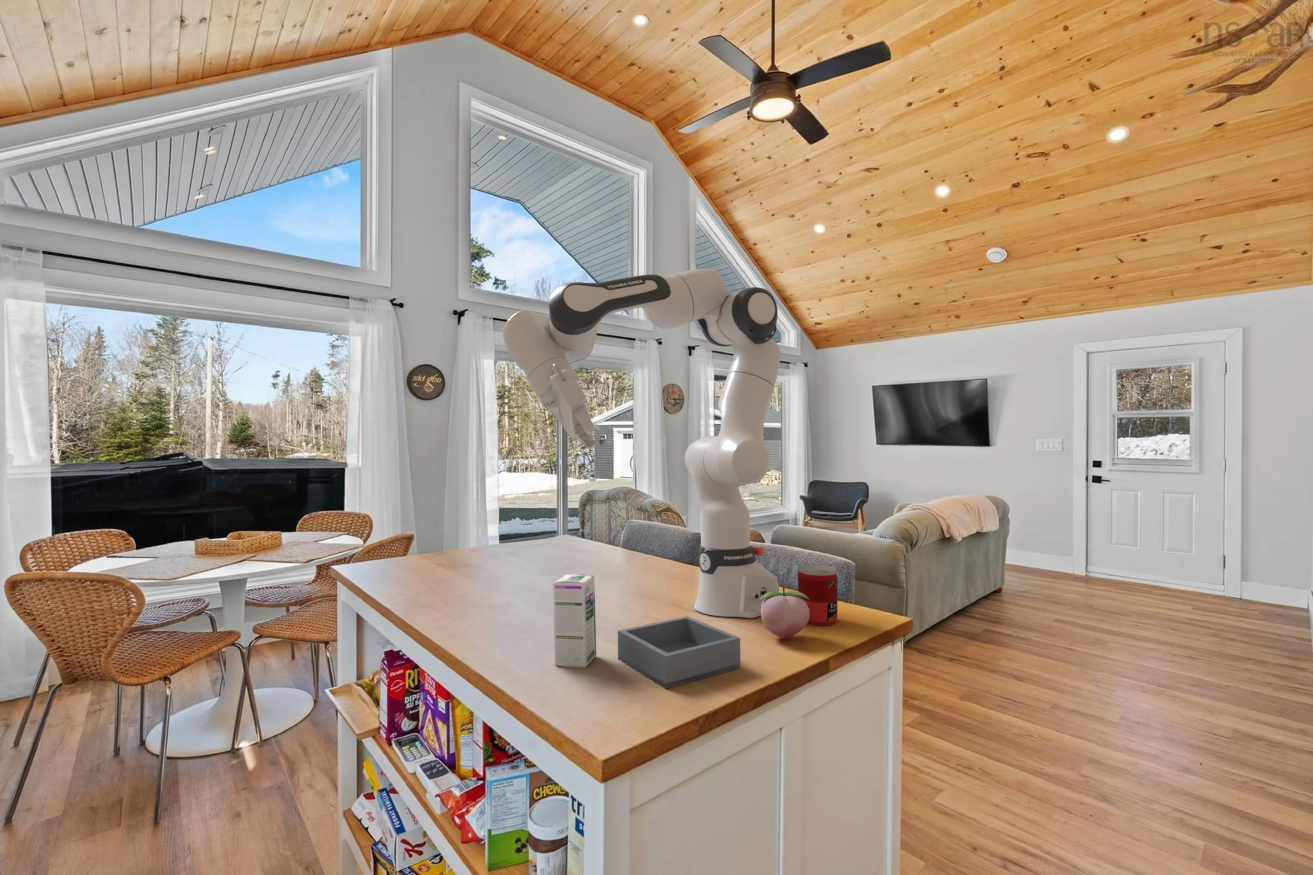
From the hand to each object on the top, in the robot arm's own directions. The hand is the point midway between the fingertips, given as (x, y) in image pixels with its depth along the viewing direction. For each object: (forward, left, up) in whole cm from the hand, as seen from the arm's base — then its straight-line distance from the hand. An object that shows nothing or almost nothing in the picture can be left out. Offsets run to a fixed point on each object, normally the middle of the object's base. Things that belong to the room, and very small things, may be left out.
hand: (592, 439), depth 114 cm
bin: (-7, +18, -38) cm, 43 cm away
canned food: (-45, +15, -39) cm, 61 cm away
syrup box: (+7, +7, -39) cm, 40 cm away
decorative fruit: (-31, +19, -39) cm, 53 cm away
